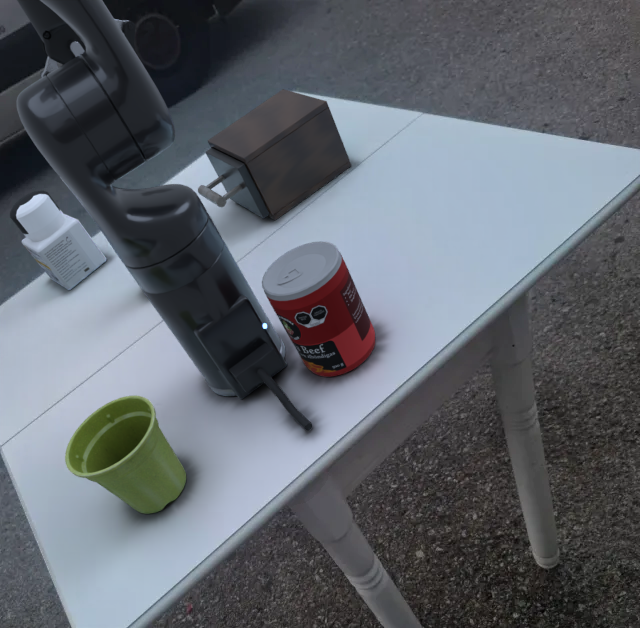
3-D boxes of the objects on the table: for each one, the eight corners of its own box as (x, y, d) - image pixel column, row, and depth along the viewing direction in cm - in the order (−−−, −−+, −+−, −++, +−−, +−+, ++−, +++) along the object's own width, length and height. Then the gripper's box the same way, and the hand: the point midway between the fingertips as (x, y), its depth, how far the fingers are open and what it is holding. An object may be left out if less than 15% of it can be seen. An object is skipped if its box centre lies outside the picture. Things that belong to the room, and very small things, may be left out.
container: (51, 280, 113) (-5, 211, 105) (88, 250, 115) (37, 181, 107) (69, 291, 108) (12, 220, 99) (108, 260, 110) (55, 187, 101)
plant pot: (105, 533, 69) (48, 480, 63) (136, 457, 75) (87, 402, 69) (186, 526, 65) (133, 469, 59) (212, 446, 71) (167, 388, 65)
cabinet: (275, 220, 97) (243, 158, 91) (237, 198, 107) (206, 140, 100) (352, 165, 99) (326, 100, 93) (308, 148, 108) (283, 88, 102)
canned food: (292, 364, 75) (246, 283, 67) (345, 316, 77) (305, 233, 69) (337, 389, 69) (292, 305, 62) (393, 337, 71) (355, 249, 64)
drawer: (238, 236, 96) (211, 186, 91) (207, 214, 105) (180, 168, 100) (334, 168, 99) (313, 116, 94) (296, 152, 107) (274, 103, 102)
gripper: (-7, 6, 73) (93, 157, 84) (100, -60, 75) (183, 97, 86) (-17, 3, 78) (78, 145, 90) (82, -58, 80) (163, 89, 92)
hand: (129, 121), depth 88 cm, fingers closed
